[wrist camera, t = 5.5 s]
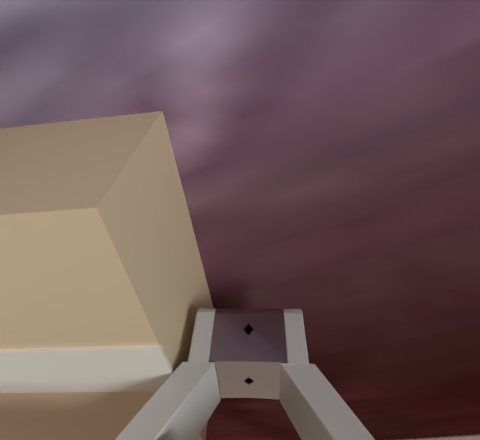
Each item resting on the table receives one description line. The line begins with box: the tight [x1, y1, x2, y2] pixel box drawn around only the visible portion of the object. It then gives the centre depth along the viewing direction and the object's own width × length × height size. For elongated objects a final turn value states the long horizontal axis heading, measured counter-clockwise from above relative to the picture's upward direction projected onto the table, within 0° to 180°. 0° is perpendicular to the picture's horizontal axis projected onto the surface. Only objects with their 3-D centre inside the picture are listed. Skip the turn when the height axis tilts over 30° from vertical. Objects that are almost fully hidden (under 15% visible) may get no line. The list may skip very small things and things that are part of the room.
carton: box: [0, 111, 213, 440], centre depth 10 cm, size 9×9×5 cm
